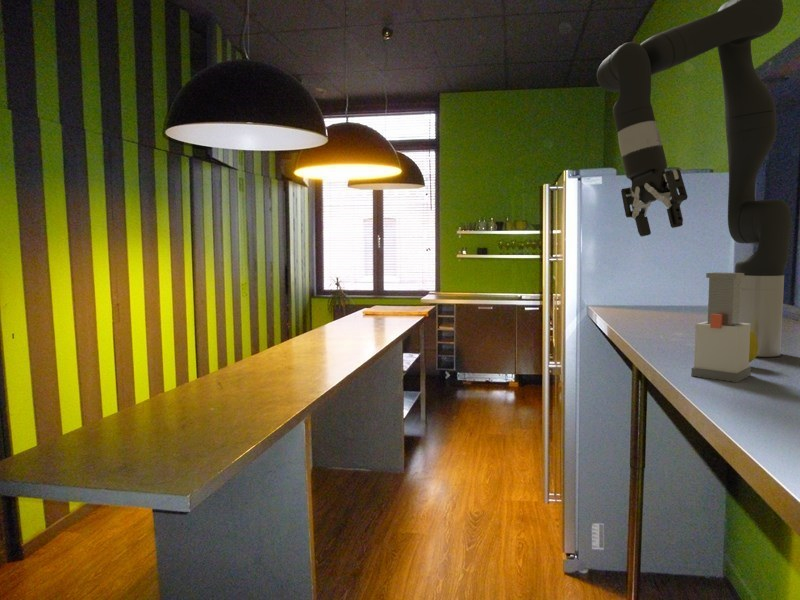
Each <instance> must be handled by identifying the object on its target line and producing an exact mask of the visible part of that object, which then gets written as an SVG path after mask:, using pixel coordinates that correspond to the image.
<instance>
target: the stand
mask: <svg viewBox="0 0 800 600" xmlns="http://www.w3.org/2000/svg"><path fill="white" fill-rule="evenodd" d="M750 327H751V324H749V323H739V325H737V326H725V325H722V314H711V323H710V324H708V320H706V321H701V322H698V323H695V335H694V337H695V338H694V358H693V359H694V361H693V362H694V363H693V364H694V366H693V367H691V377H694V376H697V377H696V378H701V377H704V378H703V379H709V378H712V379H711V380H716V379H719V380H718V381H723V380H726V381H725V382H730V381H732V382H733V383H739V382H741V381H743V380H745V379H746V378H748V376H749V377H750V375H751V374H752V367H750V365H749V364H750V362H749V349H750ZM744 378H745V379H744Z"/></svg>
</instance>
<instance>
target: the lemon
mask: <svg viewBox="0 0 800 600" xmlns="http://www.w3.org/2000/svg"><path fill="white" fill-rule="evenodd" d="M757 353H758V340H757V337H756V335H755V334H754V333H753V332H752V331H751V330H750V349H749V363H751V362H753V361H754V359H756V358H757V357H758V356H757Z"/></svg>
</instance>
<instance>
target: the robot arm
mask: <svg viewBox="0 0 800 600" xmlns="http://www.w3.org/2000/svg"><path fill="white" fill-rule="evenodd" d="M783 13H784V4H783V0H727V1H726V2H724V3H723V4H721V6H720V7H719V9H718V10H717V11H716V12H714V13H711V14H709V15H706V16H703V17H701V18H698V19H695V20H692V21H689V22H687V23H684V24H680V25H678V26H675V27H671V28H669V29H667V30H664V31H662V32H659V33H657V34H654V35H652V36H650V37H649V38H647V39H645V40H644V41H643V42H641V43H640V44H639V43H638V42H635V41H629V42H625V43H623V44H622V45H619V46H618V47H617V48H616V49H614V50H613V52H611V54H609V55H608V56H607V57H606V58H605V59H604V60H602V62H601V63H600V65H599V67H598V68H597V70H596V79H597V83H598V84H599V86H600V87H601V88H602V89H603V90H605V91H607V92H611V93H617V92H618V93H619V95H618V99H617V101H616V102H615V103H614V105H613V108H612V115H613V119H614V123H615V129H616V132H617V137H618V146H619V150H620V155H621V159H622V164H623V167H624V168H623V169H624V172H625V176H626V178H627V179H628V180H630V181H631V186H628V187H624V188H621V191H620V192H621V198H622V203H623V208H624V213H625V214H624V215H625V216H626V218H633V219H634V220H635V223H636V229H637V232H638V235H639V236H640V237H646V236H650V235H651V234H652V232H651V227H650V224H649V219H648V216H646V215H647V212H648V208H649V207H650V206H651V204H652V203H653V202H655V201H659V202H661V203H662V204H663V205H664V206H665V207H666V212H667V216H668V221H669V224H670V228H672V229H676V228H679V227H683V222H684V217H683V215H682V214H683V213H682V211H681V206H682V205H681V204H682V203H683V201H686V200H687V199H688V194H687V190H686V186H685V183H684V180H683V177H682V172H681V169H679V168H675V169H670V170H666V169H668V163H667V162H668V161H667V159H666V154H665V150H664V145H663V141H662V137H661V133H660V130H659V128H658V125H657V123H656V118H655V114H654V110H653V109H654V108H653V106H652V102H651V94H652V76H654V75H656V74H658V73H661V72H664V71H666V70H669V69H671V68H674V67H677V66H680V65H681V64H683V63H686V62H688V61H690V60H692V59H694V58H696V57H698V56H701V55H703V54H704V53H706V52H708V51H711V50H713V49H715V48H716V49H717V51H718V58H719V64H720V70H721V71H720V72H721V78H722V89H723V97H724V98H723V100H724V115H725V117H724V118H725V119H724V120H725V122H724V123H725V135H726V145H727V146H726V147H727V157H728V158H727V159H728V163H727V164H728V194H727V195H728V197H727V227H728V232H729V234H730V237H731V238H732V239H733V241H734V242H736V243H739V244H757V250H755V252H754V253H753V254H751V255H750V256H748V257H746V258H743V259H741V260H738V261H737V262H735V265H734V273H744V278H741V287H740V310H739V323H749V324H751V327H750V330H751V331H752V332H753V333H754V334H755V335H756V337H757V340H758V353H757V356H756V357H765V358H766V357H767V358H769V357H779V356H781V347H782V329H783V313H784V311H783V309H784V290H785V288H784V287H785V270H786V266H787V263H788V259H789V252H790V242H791V234H792V225H793V223H792V222H793V221H792V218H793V217H792V211H791V207H790V206H789V204H788V203H787V202H786V201H785V200H783V199H777V198H776V199H775V198H773V199H762V200H761V199H760V200H759V199H758V200H756V184H757V183H756V182H757V177H758V174H759V171H760V170H761V168H762V165H763V164H764V162H765V160H766V158H767V157H768V154H769V153H770V151H771V149H772V147H773V145H774V143H775V140H776V137H777V131H778V130H777V110H776V109H777V108H776V103H775V99H774V98H773V96H772V93H771V92H770V90H769V89H768V87H767V86H766V84H765V83H764V82H763V80H762V79H761V78H760V76H759V75H758V73H757V72H756V69H755V67H754V63H753V58H752V57H753V55H752V41H753V40H755V39H758V38H762V37H763V36H765V35H767V34H769V33H771V32H772V31H773V30H774V29H775V28H776V27H777V26H778V25H779V24H780V22H781V20H782V18H783ZM631 208H632V210H631Z"/></svg>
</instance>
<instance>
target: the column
mask: <svg viewBox="0 0 800 600" xmlns="http://www.w3.org/2000/svg"><path fill="white" fill-rule="evenodd" d="M705 278H709V279H708V281H709V282H708V300H707V301H708V302H707V303H708V307H707V321H708V324H710V323H711V314H722V325H725V326H737V325H739V310H740V287H741V278H744V273H735V272H717V271H715V272H706V276H705Z"/></svg>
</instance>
